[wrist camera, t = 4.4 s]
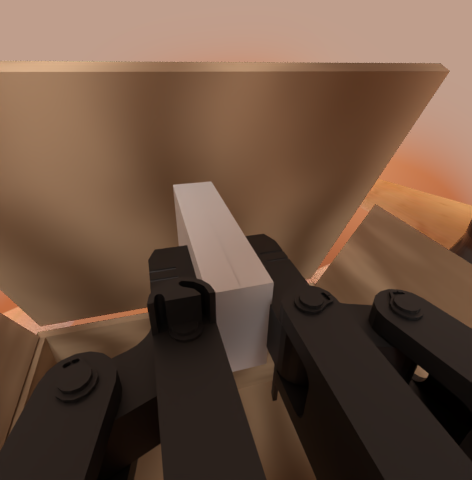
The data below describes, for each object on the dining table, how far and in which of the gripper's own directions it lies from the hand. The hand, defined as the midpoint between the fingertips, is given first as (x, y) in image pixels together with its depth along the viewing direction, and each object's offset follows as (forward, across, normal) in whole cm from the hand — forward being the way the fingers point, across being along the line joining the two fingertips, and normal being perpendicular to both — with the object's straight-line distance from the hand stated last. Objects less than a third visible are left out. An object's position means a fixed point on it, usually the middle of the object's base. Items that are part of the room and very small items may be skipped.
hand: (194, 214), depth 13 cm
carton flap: (+3, 0, -3) cm, 4 cm away
